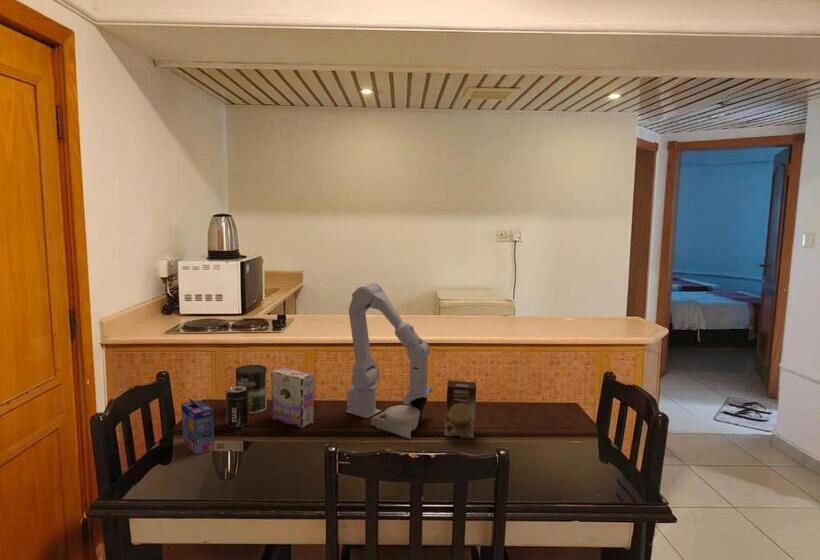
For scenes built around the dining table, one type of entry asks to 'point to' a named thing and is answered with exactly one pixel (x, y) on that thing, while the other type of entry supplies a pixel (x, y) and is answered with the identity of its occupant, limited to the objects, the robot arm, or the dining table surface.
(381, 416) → the oak rail
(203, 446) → the ink cartridge box
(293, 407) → the candy box
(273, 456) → the dining table surface
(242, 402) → the beverage can
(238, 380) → the coffee can
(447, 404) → the coffee box
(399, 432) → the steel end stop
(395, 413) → the ramekin
